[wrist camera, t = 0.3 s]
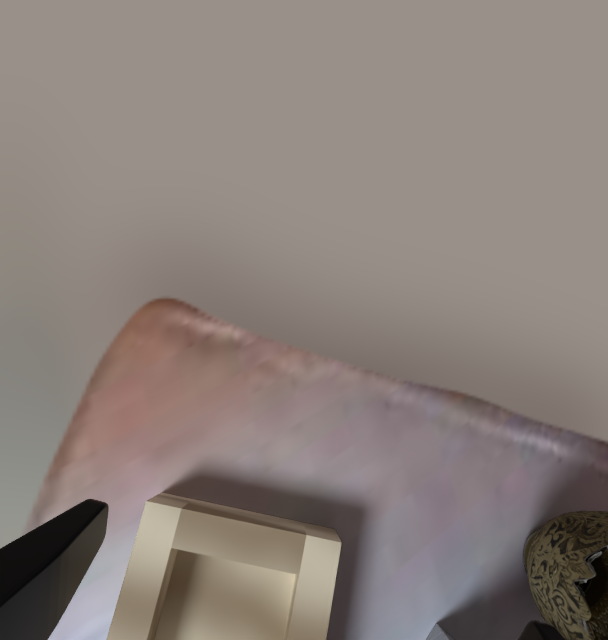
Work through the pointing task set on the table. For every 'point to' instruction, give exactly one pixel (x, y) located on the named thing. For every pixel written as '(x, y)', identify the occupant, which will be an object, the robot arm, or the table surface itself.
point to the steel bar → (438, 634)
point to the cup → (571, 573)
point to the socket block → (225, 575)
